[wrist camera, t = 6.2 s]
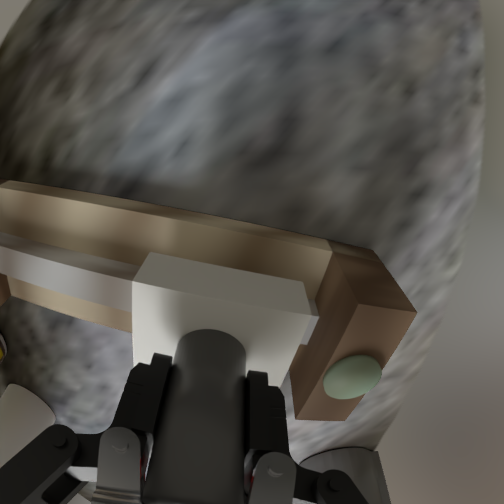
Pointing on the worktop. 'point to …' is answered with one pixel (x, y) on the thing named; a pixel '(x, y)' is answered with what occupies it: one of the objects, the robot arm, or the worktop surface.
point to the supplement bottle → (2, 348)
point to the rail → (212, 252)
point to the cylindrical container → (21, 420)
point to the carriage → (209, 367)
